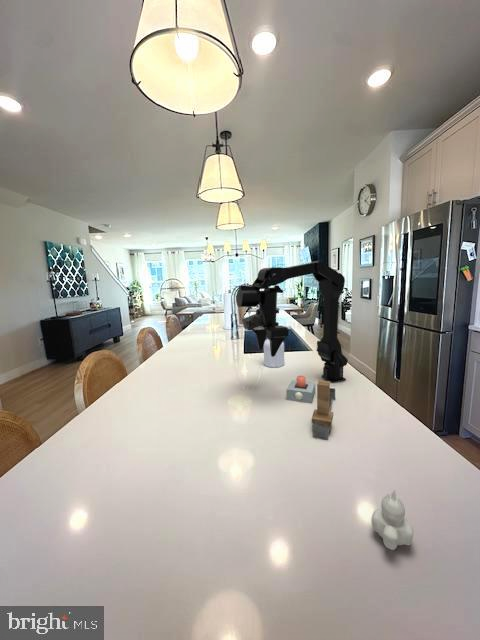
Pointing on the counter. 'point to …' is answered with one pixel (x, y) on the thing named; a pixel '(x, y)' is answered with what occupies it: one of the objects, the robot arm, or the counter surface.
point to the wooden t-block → (323, 405)
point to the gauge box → (300, 392)
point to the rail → (322, 429)
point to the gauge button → (301, 382)
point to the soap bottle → (275, 360)
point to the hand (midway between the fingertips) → (266, 352)
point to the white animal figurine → (392, 522)
